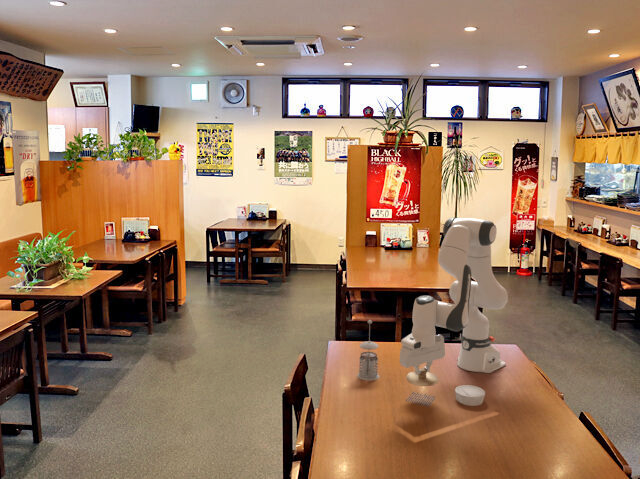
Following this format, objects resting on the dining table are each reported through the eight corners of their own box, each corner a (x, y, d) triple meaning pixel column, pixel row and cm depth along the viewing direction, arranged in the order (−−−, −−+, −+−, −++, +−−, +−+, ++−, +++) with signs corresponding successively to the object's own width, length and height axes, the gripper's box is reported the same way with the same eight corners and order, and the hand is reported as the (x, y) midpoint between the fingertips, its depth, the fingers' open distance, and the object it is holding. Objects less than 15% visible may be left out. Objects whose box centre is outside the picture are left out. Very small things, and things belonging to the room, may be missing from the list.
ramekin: (448, 403, 217) (449, 390, 216) (463, 394, 225) (464, 382, 224) (475, 413, 209) (476, 399, 208) (489, 403, 217) (490, 390, 217)
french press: (380, 372, 246) (382, 317, 242) (378, 383, 234) (380, 325, 230) (358, 370, 247) (359, 316, 243) (355, 381, 236) (356, 324, 232)
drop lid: (423, 370, 224) (424, 361, 224) (444, 381, 214) (445, 372, 213) (400, 377, 218) (400, 367, 218) (420, 388, 208) (420, 379, 208)
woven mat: (402, 406, 215) (403, 401, 215) (412, 395, 224) (412, 390, 224) (429, 412, 210) (429, 407, 210) (437, 401, 219) (437, 396, 219)
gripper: (438, 331, 221) (436, 364, 224) (397, 341, 211) (396, 375, 213) (449, 336, 216) (448, 369, 218) (408, 346, 205) (407, 381, 208)
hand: (422, 372), depth 216 cm, fingers closed on drop lid, 3 cm apart
